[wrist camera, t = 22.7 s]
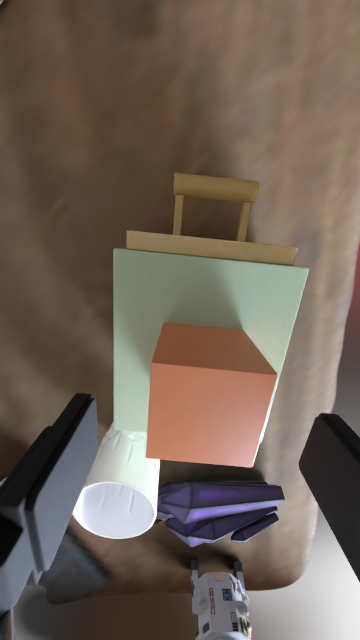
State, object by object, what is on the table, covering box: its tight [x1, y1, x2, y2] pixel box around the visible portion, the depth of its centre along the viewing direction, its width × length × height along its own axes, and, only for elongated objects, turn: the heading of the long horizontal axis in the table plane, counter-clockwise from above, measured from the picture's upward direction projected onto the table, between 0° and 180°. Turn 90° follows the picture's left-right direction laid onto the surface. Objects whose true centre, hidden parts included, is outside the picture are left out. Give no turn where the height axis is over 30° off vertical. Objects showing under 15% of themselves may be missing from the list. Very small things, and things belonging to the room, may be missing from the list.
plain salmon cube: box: [146, 322, 278, 467], centre depth 13 cm, size 6×6×6 cm
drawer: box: [126, 173, 298, 266], centre depth 19 cm, size 18×11×7 cm, turn 175°
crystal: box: [152, 482, 285, 548], centre depth 29 cm, size 7×12×20 cm
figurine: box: [191, 559, 252, 640], centre depth 31 cm, size 9×12×15 cm
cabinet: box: [113, 248, 309, 443], centre depth 20 cm, size 15×13×9 cm
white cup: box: [73, 420, 160, 539], centre depth 24 cm, size 8×8×10 cm
